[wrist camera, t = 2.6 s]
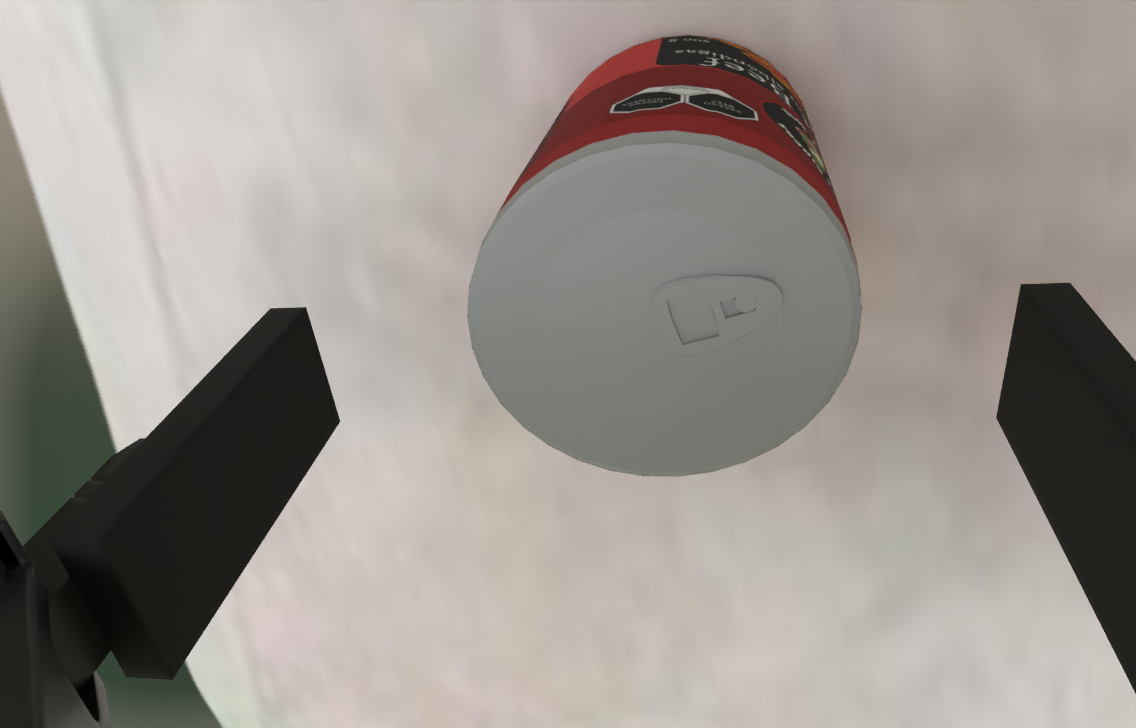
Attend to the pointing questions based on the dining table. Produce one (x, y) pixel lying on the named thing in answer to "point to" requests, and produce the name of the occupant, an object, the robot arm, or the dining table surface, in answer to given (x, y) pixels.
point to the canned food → (669, 268)
